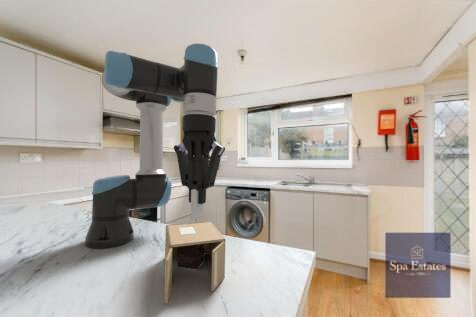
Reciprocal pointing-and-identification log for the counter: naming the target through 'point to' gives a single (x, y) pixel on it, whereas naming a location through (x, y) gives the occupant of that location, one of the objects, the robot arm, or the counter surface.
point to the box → (191, 256)
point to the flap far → (217, 265)
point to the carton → (193, 237)
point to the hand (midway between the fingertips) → (196, 217)
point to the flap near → (168, 275)
